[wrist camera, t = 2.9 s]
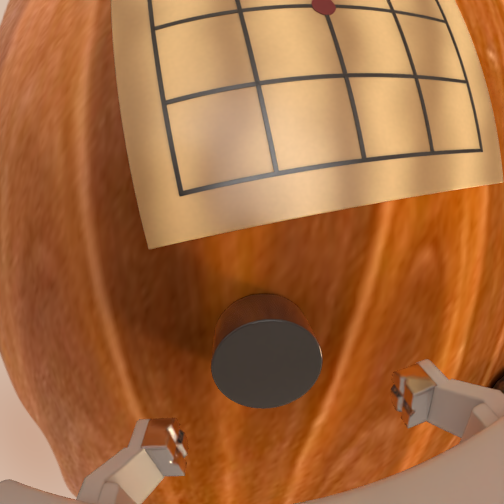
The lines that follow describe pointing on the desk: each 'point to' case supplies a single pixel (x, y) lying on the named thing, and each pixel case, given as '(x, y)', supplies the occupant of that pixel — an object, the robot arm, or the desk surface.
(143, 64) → the go board
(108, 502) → the robot arm
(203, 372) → the desk surface
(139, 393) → the desk surface
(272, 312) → the game stone
